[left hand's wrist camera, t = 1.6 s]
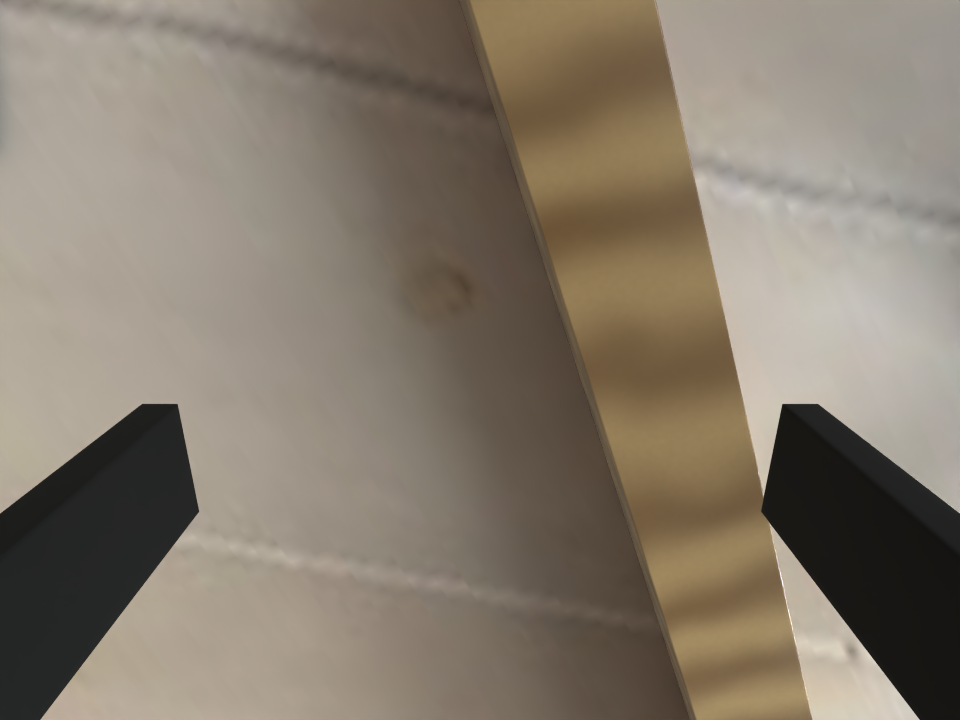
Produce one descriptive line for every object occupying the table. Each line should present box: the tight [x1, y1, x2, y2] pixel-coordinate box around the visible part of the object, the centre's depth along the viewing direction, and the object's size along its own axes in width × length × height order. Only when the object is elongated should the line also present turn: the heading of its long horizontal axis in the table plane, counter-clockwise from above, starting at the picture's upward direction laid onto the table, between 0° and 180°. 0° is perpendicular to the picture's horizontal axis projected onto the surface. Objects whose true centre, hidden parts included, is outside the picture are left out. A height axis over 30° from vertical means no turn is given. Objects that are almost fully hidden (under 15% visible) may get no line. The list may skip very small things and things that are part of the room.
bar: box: [459, 0, 813, 720], centre depth 30 cm, size 62×6×8 cm, turn 20°
